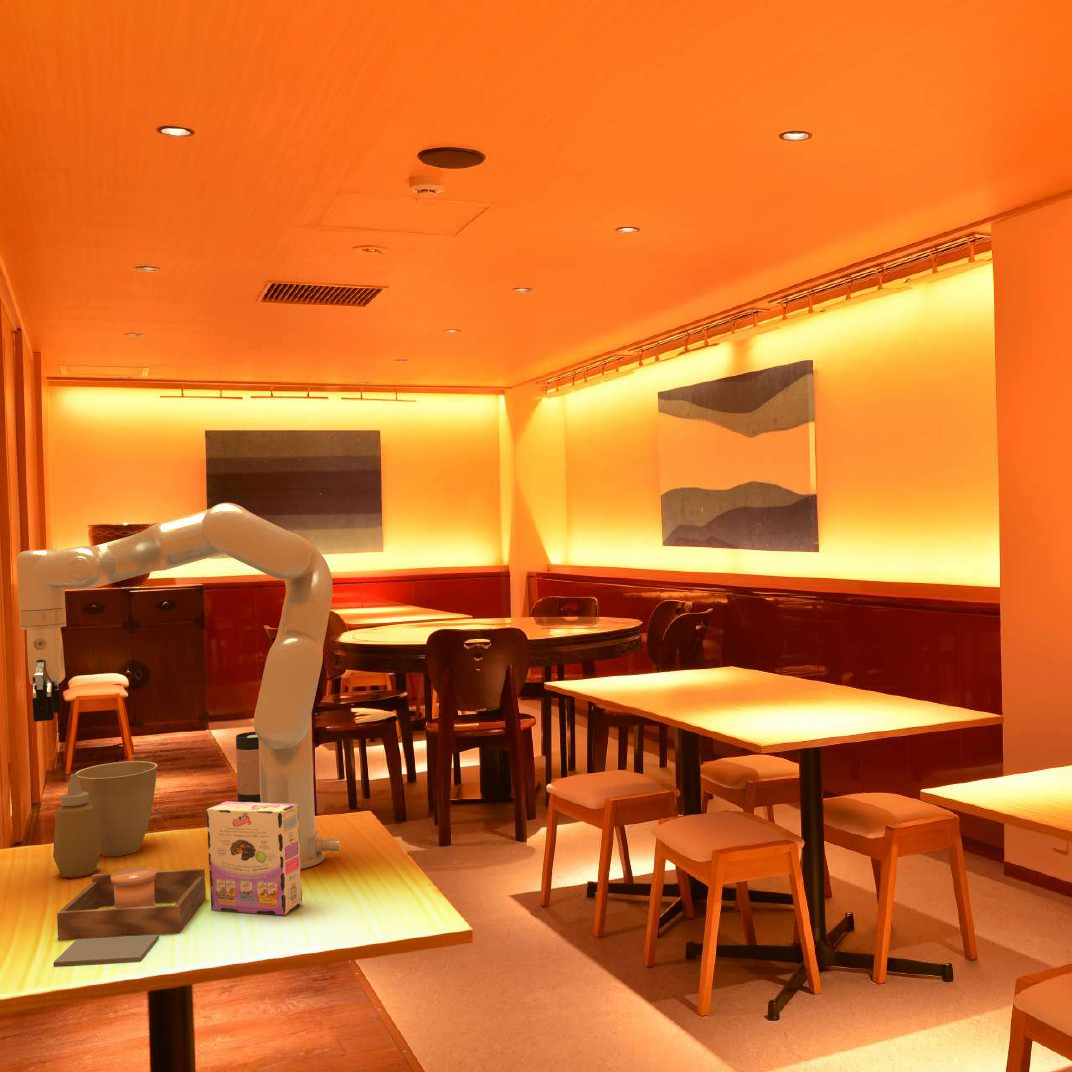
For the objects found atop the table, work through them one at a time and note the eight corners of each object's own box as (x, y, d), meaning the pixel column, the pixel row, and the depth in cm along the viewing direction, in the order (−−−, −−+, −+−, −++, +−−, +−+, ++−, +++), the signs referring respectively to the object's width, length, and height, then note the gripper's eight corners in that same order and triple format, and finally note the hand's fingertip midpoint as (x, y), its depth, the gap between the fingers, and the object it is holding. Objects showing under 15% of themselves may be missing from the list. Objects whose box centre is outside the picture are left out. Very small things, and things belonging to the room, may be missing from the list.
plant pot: (78, 847, 221) (75, 766, 221) (158, 837, 226) (154, 758, 227) (78, 867, 207) (74, 780, 207) (163, 855, 213) (159, 771, 213)
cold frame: (205, 898, 185) (204, 868, 185) (179, 932, 169) (178, 899, 169) (95, 905, 184) (93, 874, 184) (58, 939, 168) (56, 906, 168)
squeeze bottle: (110, 866, 206) (106, 769, 206) (88, 880, 198) (84, 778, 198) (68, 867, 207) (64, 770, 207) (44, 881, 199) (40, 779, 199)
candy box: (304, 904, 180) (299, 802, 180) (284, 917, 174) (280, 811, 174) (230, 899, 184) (226, 799, 184) (209, 910, 179) (204, 807, 179)
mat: (158, 938, 167) (158, 934, 167) (140, 961, 158) (140, 957, 158) (76, 943, 166) (76, 939, 166) (53, 966, 157) (53, 962, 157)
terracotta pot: (163, 910, 180) (161, 865, 180) (151, 924, 173) (149, 878, 173) (120, 912, 180) (118, 867, 180) (106, 927, 173) (104, 880, 173)
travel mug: (242, 829, 229) (238, 732, 229) (280, 827, 230) (276, 730, 230) (236, 839, 222) (231, 738, 222) (275, 837, 222) (271, 736, 222)
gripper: (60, 621, 190) (64, 721, 190) (71, 615, 207) (75, 708, 207) (11, 624, 188) (16, 726, 188) (26, 618, 205) (31, 711, 205)
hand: (47, 716), depth 198 cm, fingers open, 9 cm apart
